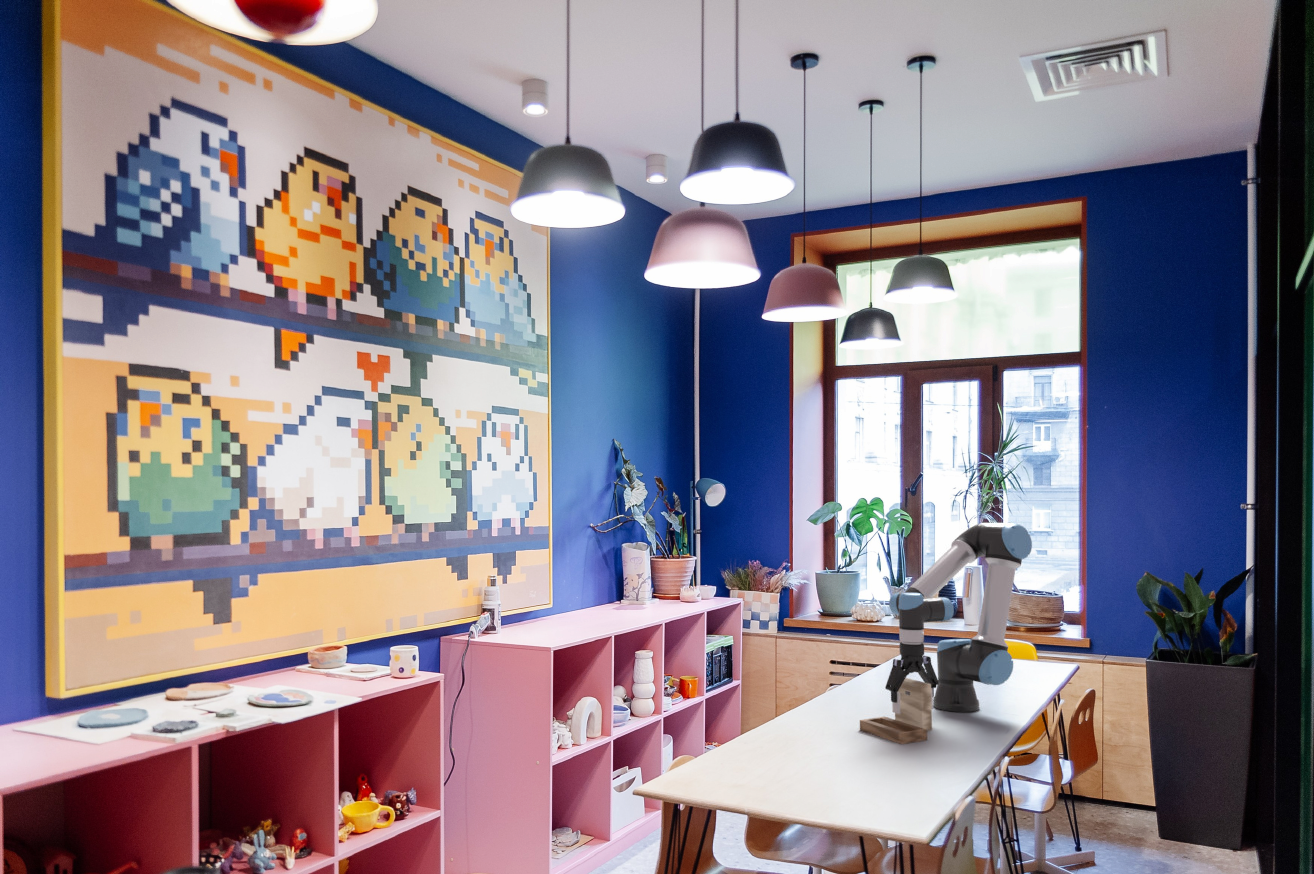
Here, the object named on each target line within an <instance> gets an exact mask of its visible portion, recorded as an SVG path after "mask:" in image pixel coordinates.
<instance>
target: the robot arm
mask: <svg viewBox="0 0 1314 874" xmlns="http://www.w3.org/2000/svg"><path fill="white" fill-rule="evenodd" d="M1032 548H1033V541H1032V538H1031V535H1030V534H1029V531H1028V530H1027V529H1026V527H1024V526H1023V525H1022V524H1018V523H1011V522H981V523H978V524H975V525H973V526H971V527H969V528H968V529H966V530H965V531H963V532H962V533H961V534H959V535H958V536H957V537H956V538H955V539H954V540H953V541H952V542H951V545H950V548H948V550H947V551H946V552H945V553H944V554H943V555H942V556H940V558H938V560H937V561H935V562H934V563H933V564H932V565H931V566H930V567H929V568H928V569H927V570H926V571H925V572H923V574H922V575H920V577H918V578H917V579H916V580H915V582H913V584H911V585H910V586H909V587H908V588H907V589H906V590H905V591H904V592H898V593H897V592H896V593H893V594H892V595H891V597H890V599H889V603H888V606H889V607H888V608H889V609H890V611H891V613H892V614H893V615H896V616H898V619H899V620H898V622H899V623H898V624H899V625H898V626H899V631H898V633H899V637H898V638H899V641H900V642H899V654H900V656H901V657H900V659H897V658H893V660H892V667H891V668H890V669H891V670H890V672H889V675H888V678H887V682H886V684H885V690H887V691H890V702H891V703H892V713H894V714H895V713H897V714H900V692H898V690H899V689H900V687H901V685H902V683H903V681H904V680H905V678H907V676H908V675H910V674H913V673H917V674H918V675H919V676H920V678H921V679H922V682H925V683H929V684H931V707H932V710H933V709H934V708H936V709H938V710H943V711H949V712H956V713H966V712H967V713H969V712H977V711H979V710H980V701H979V699H978V697H977V693H976V689H975V685H974V682H977V683H979V684H984V685H988V686H990V685H991V686H1000V685H1002V684H1004V683H1005V682H1007V681H1008V680H1009V678H1010V677H1011V675H1012V673H1013V669H1014V660H1013V659H1012V658H1013V657H1012V655H1011V654H1010V653H1009V652H1008V650H1009V646H1008V644H1007V643H1006V641H1005V638H1006V631H1007V626H1008V619H1009V614H1010V613H1009V612H1010V606H1011V601H1012V600H1011V599H1012V591H1013V586H1014V581H1015V574H1016V570H1017V569H1019V568H1020V567H1021V566H1022V562H1023V561H1022V560H1024V559H1027V558H1028V557H1029V556H1030V554H1031V552H1032ZM981 557H984V560H985V561H986V563H987V565H988V567H987V568H988V569H987V572H986V579H985V585H984V590H983V591H984V592H983V598H982V604H981V610H980V616H979V622H978V627H977V634H976V635H975V636H973V637H972V638H953V639H944V640H939V642H938V643H937V647H936V648H937V650H936V659H937V662H936V663H937V675H936V672H935V670H934V667H933V665H932V657H931V656H928V655H925V644H924V642H925V633H924V631H925V626H924V625H925V624H924V623H934V622H941V623H942V622H945V621H949V620H951V619H952V618H953V616H954V613H955V611H954V609H955V608H954V604H953V602H952V601H951V600H950V599H949V598H948V597H941V596H938V597H935V595H936V594H938V592H940V591H941V590H942V589H943V587H945V586H946V585H947V584H948V583H949V582H950V581H951V580H952V579H953V578H954V577H955V576H956V575H957V574H959V573H960V571H962V569H963V568H964V567H966V566H967V564H972V563H974V562H975V561H976V560H977V559H978V558H981ZM934 689H935V690H934ZM934 692H935V693H934Z"/></svg>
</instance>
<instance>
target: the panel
mask: <svg viewBox="0 0 1314 874" xmlns="http://www.w3.org/2000/svg"><path fill="white" fill-rule="evenodd" d="M898 692H900V714H897V713H894V720H898V721H901V722H904V723H907V724H911V725H914V726H917V727H920V728H923V729H927V732H928V731H933V722H932V721H933V719H932V717H933V716H932V715H933V714H932V710H933V709H932V707H931V684H929V683H925V682H924V681H920V680H916V679H912V678H907V677H906V678H905V680H904V681H903V683H902V685H901V687H900V689H899V690H898Z"/></svg>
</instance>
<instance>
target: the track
mask: <svg viewBox="0 0 1314 874" xmlns="http://www.w3.org/2000/svg"><path fill="white" fill-rule="evenodd" d="M859 731H861V732H862V731H863V732H864V733H868V734H871V735H874V736H876V737H879V738H882V739H886V740H889V741H890V742H891V741H892V742H895V743H898V744H900V745H904V744H910V743H917V742H922V741H927V740H928V731H927V729H923V728H920V727H917V726H914V725H911V724H907V723H904V722H901V721H898V720H895V718H890V717H888V716H879V717H872V718H871V717H870V718H865V719H859Z"/></svg>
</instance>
